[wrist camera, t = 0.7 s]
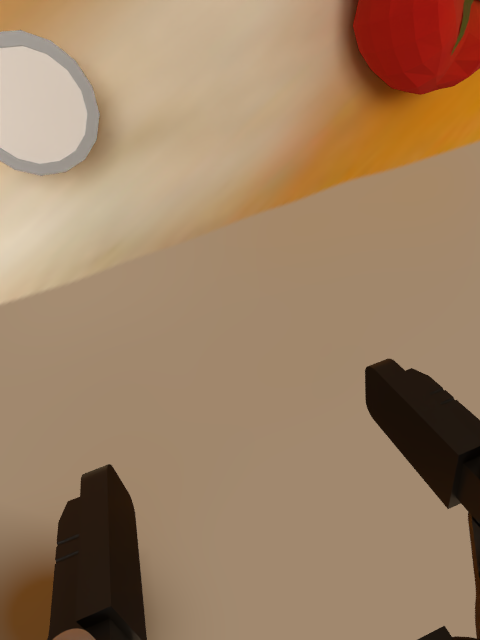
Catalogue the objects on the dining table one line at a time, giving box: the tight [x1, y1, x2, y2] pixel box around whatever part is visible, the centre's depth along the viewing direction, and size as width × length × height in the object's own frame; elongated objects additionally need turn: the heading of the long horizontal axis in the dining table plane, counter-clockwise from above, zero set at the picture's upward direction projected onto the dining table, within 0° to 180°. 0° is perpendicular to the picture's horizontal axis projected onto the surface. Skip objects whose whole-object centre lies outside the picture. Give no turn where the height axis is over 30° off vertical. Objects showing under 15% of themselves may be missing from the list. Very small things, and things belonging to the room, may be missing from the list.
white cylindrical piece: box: [0, 30, 100, 176], centre depth 24 cm, size 7×7×7 cm
